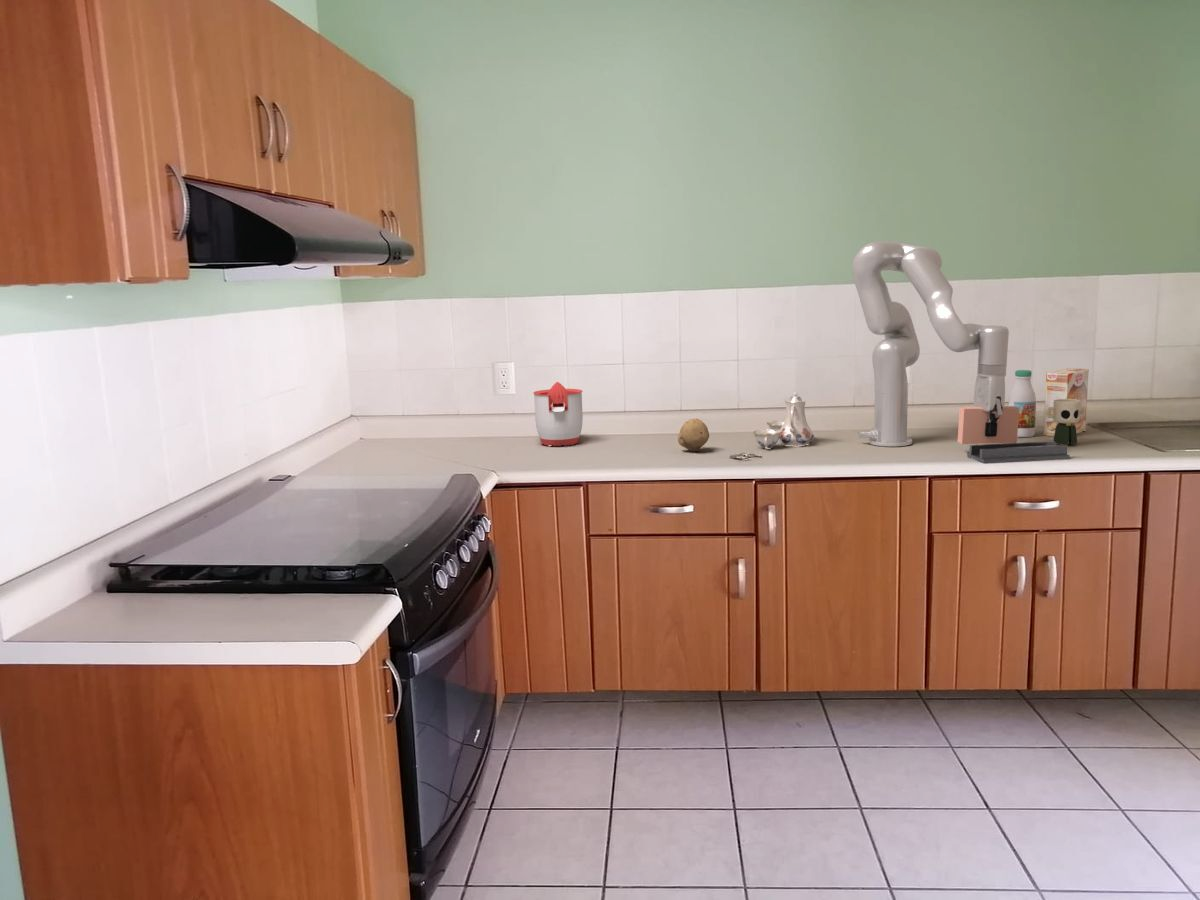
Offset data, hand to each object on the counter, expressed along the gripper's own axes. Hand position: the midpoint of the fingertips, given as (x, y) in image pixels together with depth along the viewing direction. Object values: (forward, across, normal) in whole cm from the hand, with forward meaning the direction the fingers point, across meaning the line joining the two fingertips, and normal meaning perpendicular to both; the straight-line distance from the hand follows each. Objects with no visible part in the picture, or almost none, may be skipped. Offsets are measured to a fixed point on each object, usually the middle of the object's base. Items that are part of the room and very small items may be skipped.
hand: (987, 434), depth 290 cm
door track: (+5, +11, +4) cm, 12 cm away
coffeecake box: (+5, -22, +36) cm, 42 cm away
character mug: (+5, -4, +26) cm, 26 cm away
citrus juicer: (+9, -48, -118) cm, 128 cm away
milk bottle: (+5, -22, +22) cm, 32 cm away
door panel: (+2, 0, 0) cm, 2 cm away
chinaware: (+7, -29, -50) cm, 58 cm away
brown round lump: (+8, -23, -79) cm, 83 cm away
